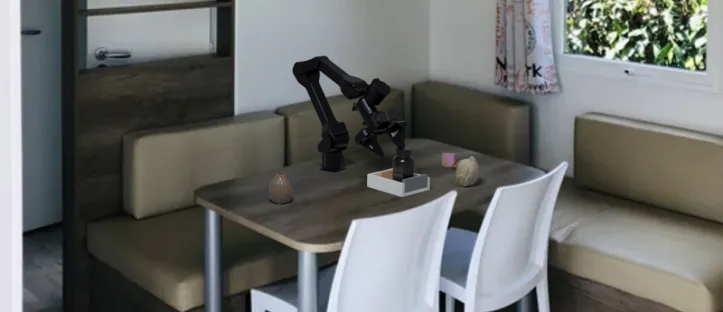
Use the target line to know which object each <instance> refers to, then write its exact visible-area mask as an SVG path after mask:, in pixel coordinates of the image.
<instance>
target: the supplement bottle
mask: <svg viewBox="0 0 723 312" xmlns="http://www.w3.org/2000/svg"><path fill="white" fill-rule="evenodd" d="M412 151H413V149H412V148H411V147H407V146H405V147H396V148H395V156H394V157H393V158H392V168H393V172H392V180H394V181H397V182H401V183H402V180H403V179H407V178H411V177H415V172H416V170H415V168H416V161H415V158H414V157H413V156H412V155H413V152H412Z"/></svg>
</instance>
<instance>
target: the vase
mask: <svg viewBox="0 0 723 312" xmlns="http://www.w3.org/2000/svg"><path fill="white" fill-rule="evenodd" d="M293 191H294V190H293V184H292V182H291V181H290V180H289V179H288V177H287V175H286V173H285V172H276V174H275V176H274V178H273V179H272V180H271V181H270V183H269V187H268V194H269V198H270V200H271V201H272V202H273V204H276V203H277V204H276V205H284V204H283V203H285V204H288V203H287V202H290V201H291V199H292V196H293Z"/></svg>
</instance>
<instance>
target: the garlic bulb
mask: <svg viewBox="0 0 723 312" xmlns="http://www.w3.org/2000/svg"><path fill="white" fill-rule="evenodd" d="M479 174H480V166H479V163H478V160H477V159H476V158H475V157H474V156H473V155H471V156H469V158H465V159H461V160H459V162H458V163H457V167H456V170H455V183H456V185H457V186H459V187H471V186H474V184H475V183H476V182H477V180H478V179H479V178H478V177H479Z"/></svg>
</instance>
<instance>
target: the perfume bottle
mask: <svg viewBox="0 0 723 312" xmlns="http://www.w3.org/2000/svg"><path fill="white" fill-rule="evenodd" d="M456 156H457V155H456V153H454V152H442V154H441V167H444V168H445V169H449V168H451V169H452V170H453V171H454V170H455V171H456V167H457V163H458V162H459V161H460V160H459V158H456Z"/></svg>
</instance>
